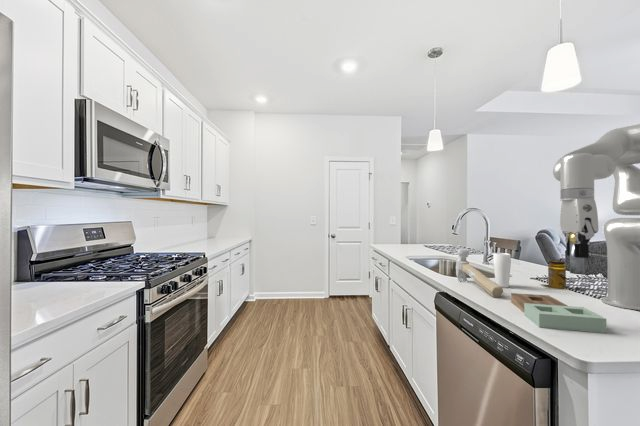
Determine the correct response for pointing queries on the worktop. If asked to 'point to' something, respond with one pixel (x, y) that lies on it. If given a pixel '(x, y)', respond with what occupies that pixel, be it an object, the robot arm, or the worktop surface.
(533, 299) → the socket block
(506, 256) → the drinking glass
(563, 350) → the worktop surface
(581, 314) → the frame
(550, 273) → the condiment
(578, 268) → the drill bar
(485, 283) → the hammer
